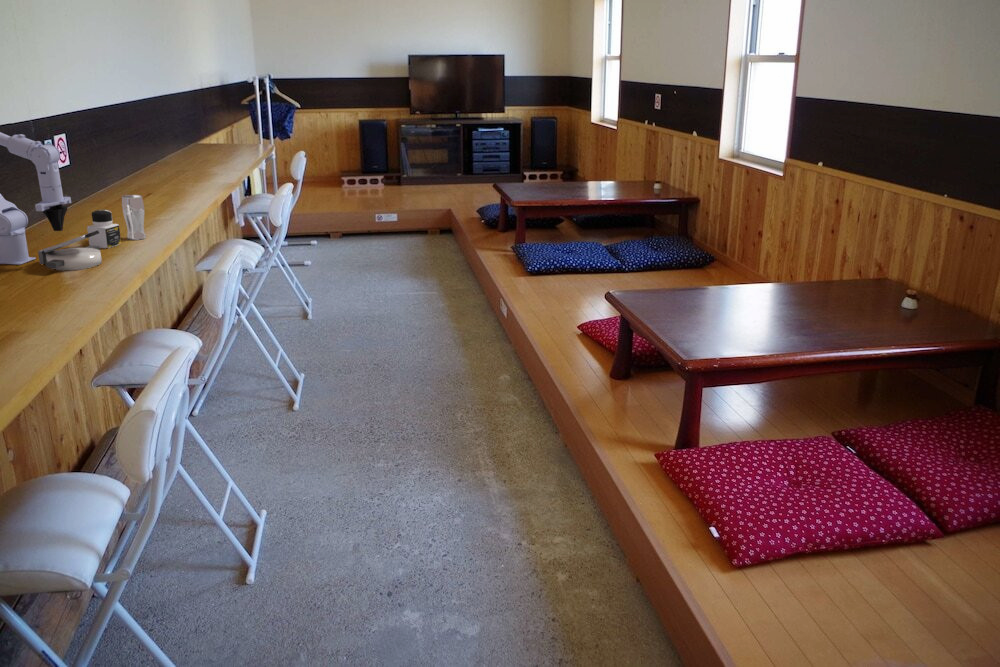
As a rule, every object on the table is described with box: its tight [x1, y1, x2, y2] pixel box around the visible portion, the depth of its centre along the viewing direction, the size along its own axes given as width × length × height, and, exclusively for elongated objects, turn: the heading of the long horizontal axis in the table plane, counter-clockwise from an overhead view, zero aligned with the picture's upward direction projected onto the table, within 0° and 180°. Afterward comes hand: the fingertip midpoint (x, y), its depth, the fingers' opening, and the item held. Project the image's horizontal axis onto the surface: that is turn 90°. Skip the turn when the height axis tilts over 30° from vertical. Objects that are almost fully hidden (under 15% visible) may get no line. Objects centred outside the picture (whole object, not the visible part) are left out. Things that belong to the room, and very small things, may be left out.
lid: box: [42, 230, 99, 253], centre depth 243 cm, size 17×15×1 cm
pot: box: [37, 245, 103, 271], centre depth 244 cm, size 17×23×4 cm
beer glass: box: [121, 194, 147, 241], centre depth 278 cm, size 7×7×15 cm
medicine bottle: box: [86, 209, 122, 249], centre depth 267 cm, size 7×7×12 cm
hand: (58, 230), depth 242 cm, fingers closed
